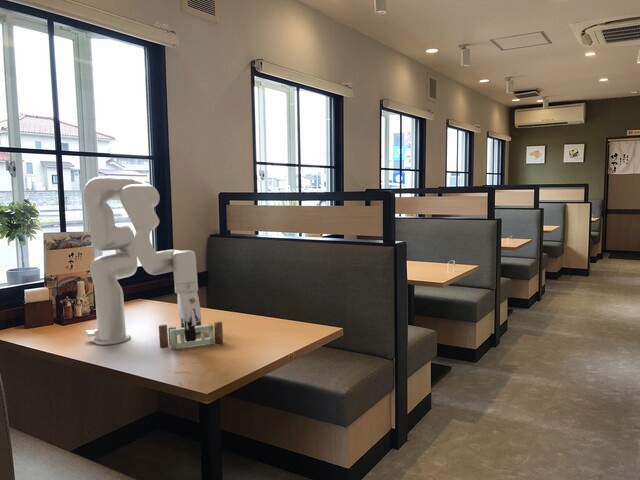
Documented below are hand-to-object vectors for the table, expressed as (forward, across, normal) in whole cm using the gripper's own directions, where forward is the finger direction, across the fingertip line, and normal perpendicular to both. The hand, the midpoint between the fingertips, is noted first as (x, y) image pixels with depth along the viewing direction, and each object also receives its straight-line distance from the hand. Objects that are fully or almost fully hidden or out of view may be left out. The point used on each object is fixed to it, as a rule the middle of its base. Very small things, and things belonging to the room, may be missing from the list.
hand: (190, 340), depth 170 cm
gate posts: (+3, +7, -2) cm, 8 cm away
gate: (+3, +3, -1) cm, 5 cm away
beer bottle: (+3, +22, -8) cm, 24 cm away
